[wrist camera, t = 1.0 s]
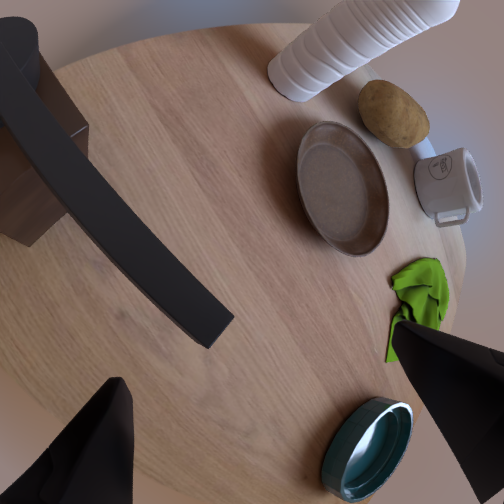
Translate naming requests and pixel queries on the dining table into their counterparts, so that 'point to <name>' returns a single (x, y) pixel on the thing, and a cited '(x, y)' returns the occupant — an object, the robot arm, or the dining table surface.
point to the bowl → (367, 449)
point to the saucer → (342, 188)
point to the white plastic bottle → (350, 41)
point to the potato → (392, 114)
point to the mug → (449, 186)
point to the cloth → (420, 296)
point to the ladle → (96, 194)
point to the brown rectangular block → (23, 174)
